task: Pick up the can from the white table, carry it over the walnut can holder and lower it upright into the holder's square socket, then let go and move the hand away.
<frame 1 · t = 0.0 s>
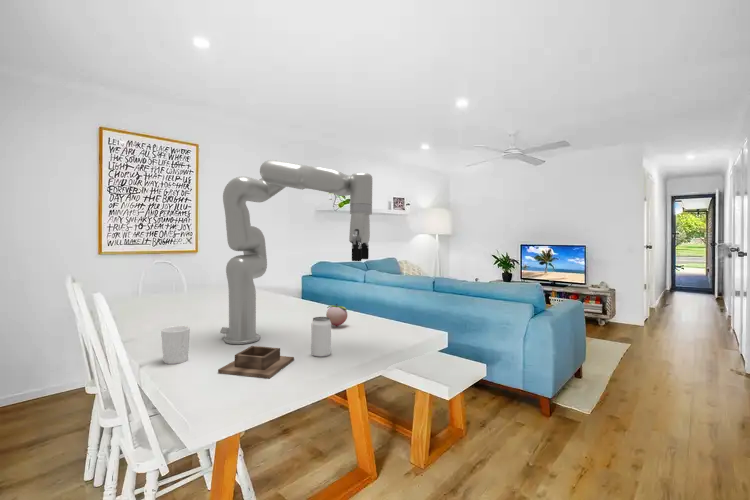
hand: (360, 260, 133), 31 cm above the table, tool pointing down, fingers open, 9 cm apart
can holder: (258, 366, 117), on the table
decorative fruit: (336, 327, 167), on the table
can: (321, 354, 130), on the table
white cup: (175, 361, 121), on the table
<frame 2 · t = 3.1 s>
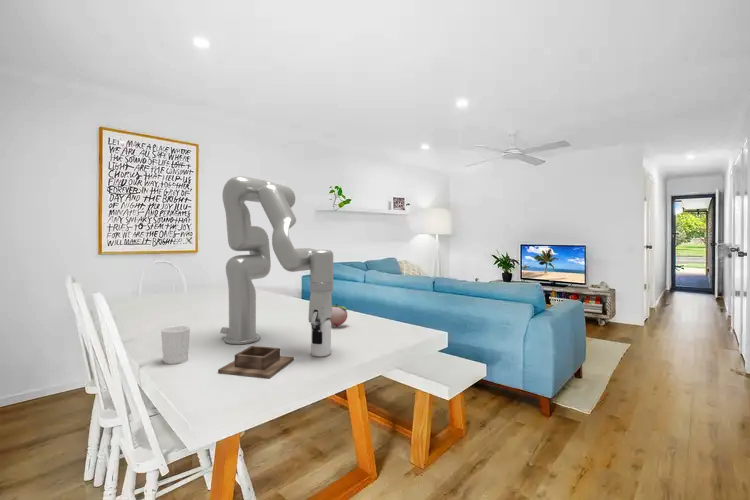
hand: (321, 340, 129), 5 cm above the table, tool pointing down, fingers closed on can, 6 cm apart
can: (321, 354, 130), on the table, touching gripper
everything else where it was.
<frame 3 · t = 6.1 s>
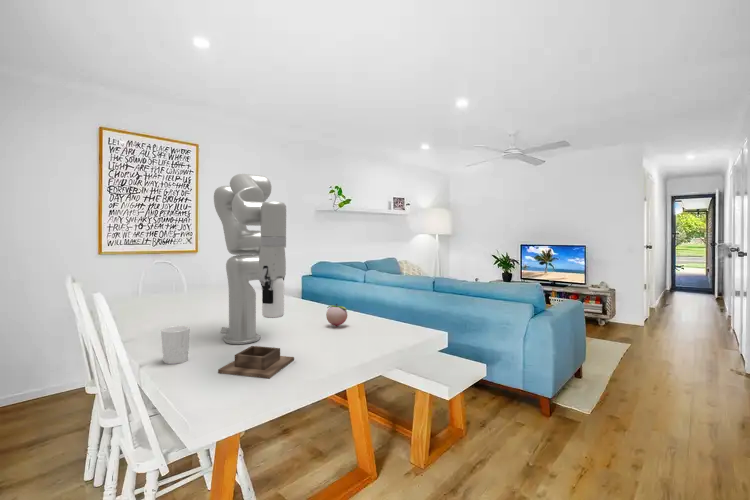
hand: (273, 300, 119), 19 cm above the table, tool pointing down, fingers closed on can, 6 cm apart
can: (273, 316, 119), point 15 cm above the table, touching gripper
everything else where it was.
when the fingers open (7 cm above the table, at t = 9.2 s): can drops 1 cm, resting on can holder.
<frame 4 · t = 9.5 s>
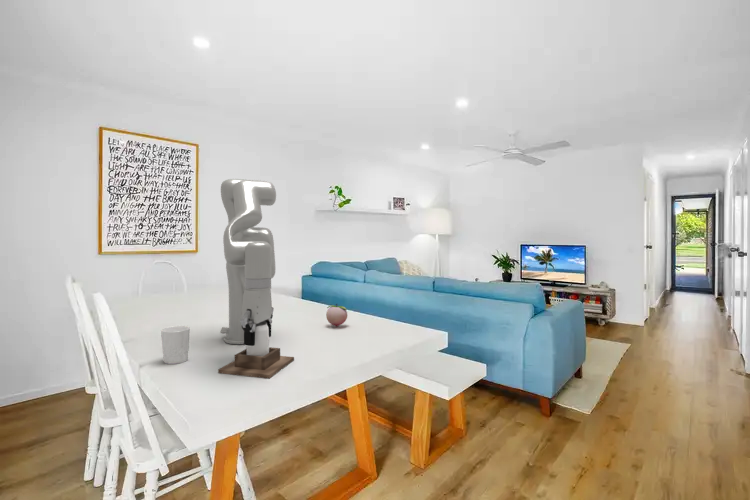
hand: (258, 340, 117), 8 cm above the table, tool pointing down, fingers open, 9 cm apart
can: (258, 363, 117), point 1 cm above the table, touching can holder
everything else where it was.
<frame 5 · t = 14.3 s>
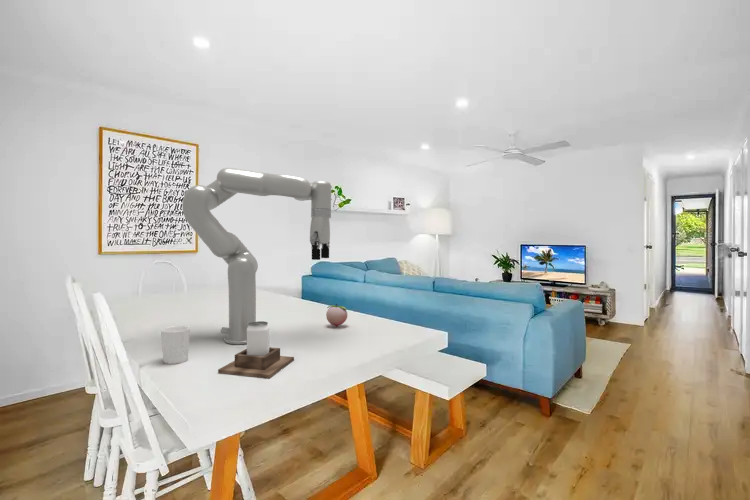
hand: (320, 258, 149), 30 cm above the table, tool pointing down, fingers open, 9 cm apart
nothing on the table moved.
at the end: can 0.1 cm off-centre on the can holder, point 0.8 cm above the can holder's base; can tilted 0°; the gripper is holding nothing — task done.
